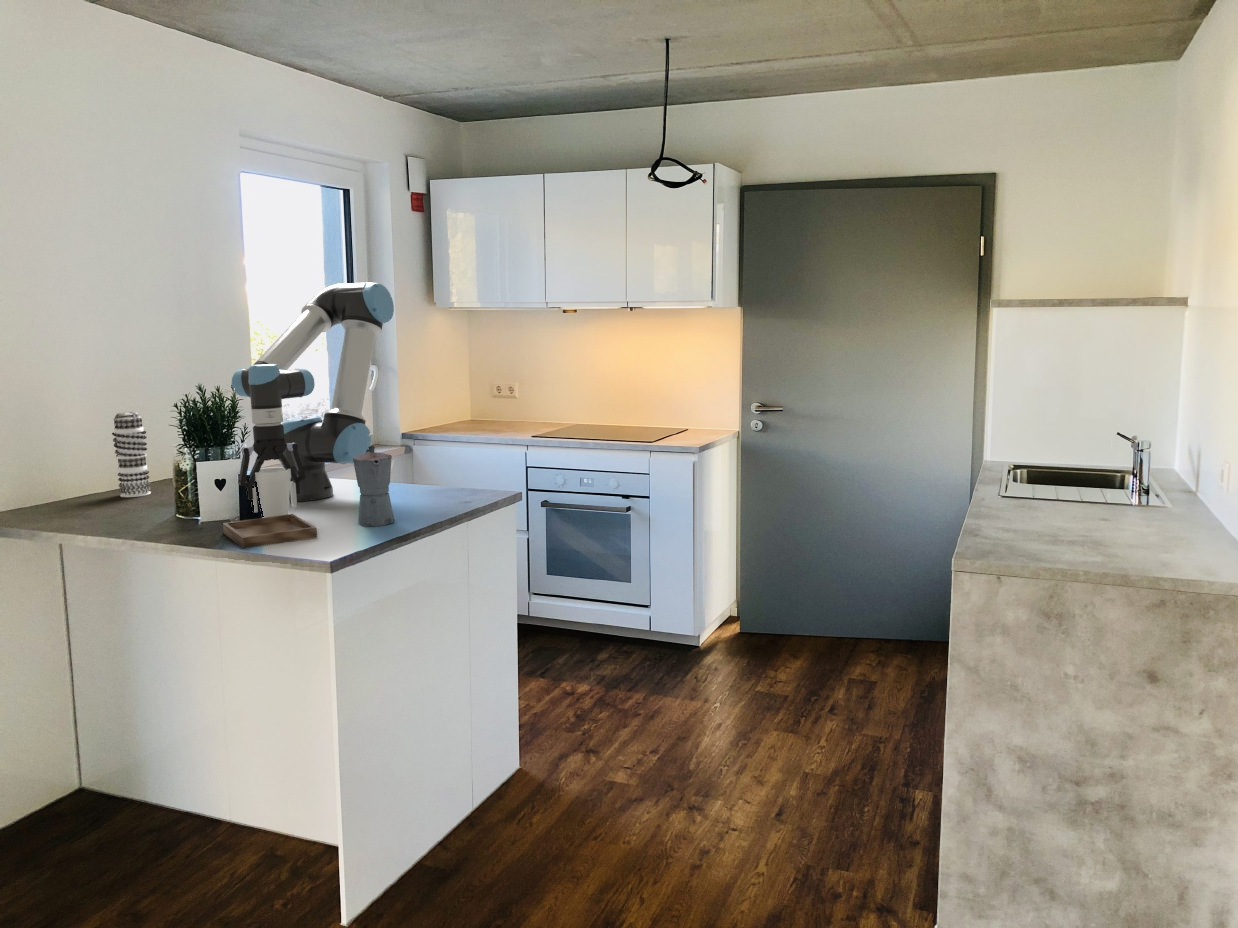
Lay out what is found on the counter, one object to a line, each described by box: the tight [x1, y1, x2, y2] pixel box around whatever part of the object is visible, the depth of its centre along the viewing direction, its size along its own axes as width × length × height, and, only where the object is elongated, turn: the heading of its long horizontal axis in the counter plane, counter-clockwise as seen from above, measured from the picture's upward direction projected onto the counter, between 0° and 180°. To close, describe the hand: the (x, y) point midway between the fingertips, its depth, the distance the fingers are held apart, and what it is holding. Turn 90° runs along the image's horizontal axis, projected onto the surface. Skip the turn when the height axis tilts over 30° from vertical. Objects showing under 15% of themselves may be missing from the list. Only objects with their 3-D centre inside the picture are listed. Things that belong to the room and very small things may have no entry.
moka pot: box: [353, 445, 395, 527], centre depth 243 cm, size 10×15×20 cm, turn 28°
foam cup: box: [255, 466, 291, 518], centre depth 251 cm, size 10×9×13 cm
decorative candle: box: [111, 411, 152, 498], centre depth 289 cm, size 9×9×25 cm
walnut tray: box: [222, 513, 318, 549], centre depth 233 cm, size 17×20×2 cm
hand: (274, 508), depth 251 cm, fingers closed on foam cup, 9 cm apart
